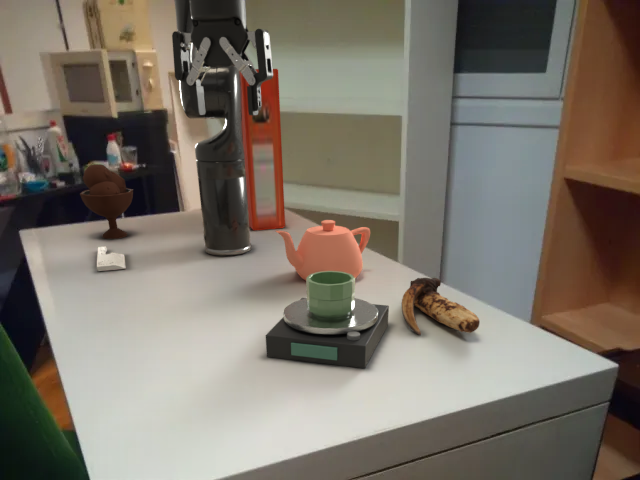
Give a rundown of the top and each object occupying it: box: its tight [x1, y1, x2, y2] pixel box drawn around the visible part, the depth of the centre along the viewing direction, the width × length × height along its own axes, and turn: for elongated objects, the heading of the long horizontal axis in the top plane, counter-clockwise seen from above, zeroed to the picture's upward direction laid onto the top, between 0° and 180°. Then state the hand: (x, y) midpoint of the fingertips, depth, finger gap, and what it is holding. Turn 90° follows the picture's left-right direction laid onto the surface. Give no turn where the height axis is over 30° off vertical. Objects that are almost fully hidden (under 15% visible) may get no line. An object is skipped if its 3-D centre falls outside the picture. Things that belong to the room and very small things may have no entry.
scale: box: [265, 297, 390, 369], centre depth 80 cm, size 15×13×4 cm
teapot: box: [275, 219, 371, 281], centre depth 104 cm, size 12×18×10 cm
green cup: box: [305, 271, 356, 318], centre depth 78 cm, size 6×6×4 cm
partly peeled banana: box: [401, 277, 480, 336], centre depth 86 cm, size 9×5×18 cm
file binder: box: [239, 68, 286, 231], centre depth 137 cm, size 8×17×32 cm, turn 17°
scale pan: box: [282, 297, 378, 335], centre depth 79 cm, size 13×13×1 cm
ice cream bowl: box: [79, 163, 134, 240], centre depth 129 cm, size 11×11×15 cm
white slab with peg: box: [96, 245, 126, 272], centre depth 116 cm, size 5×15×1 cm, turn 17°
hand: (226, 115), depth 87 cm, fingers open, 8 cm apart
